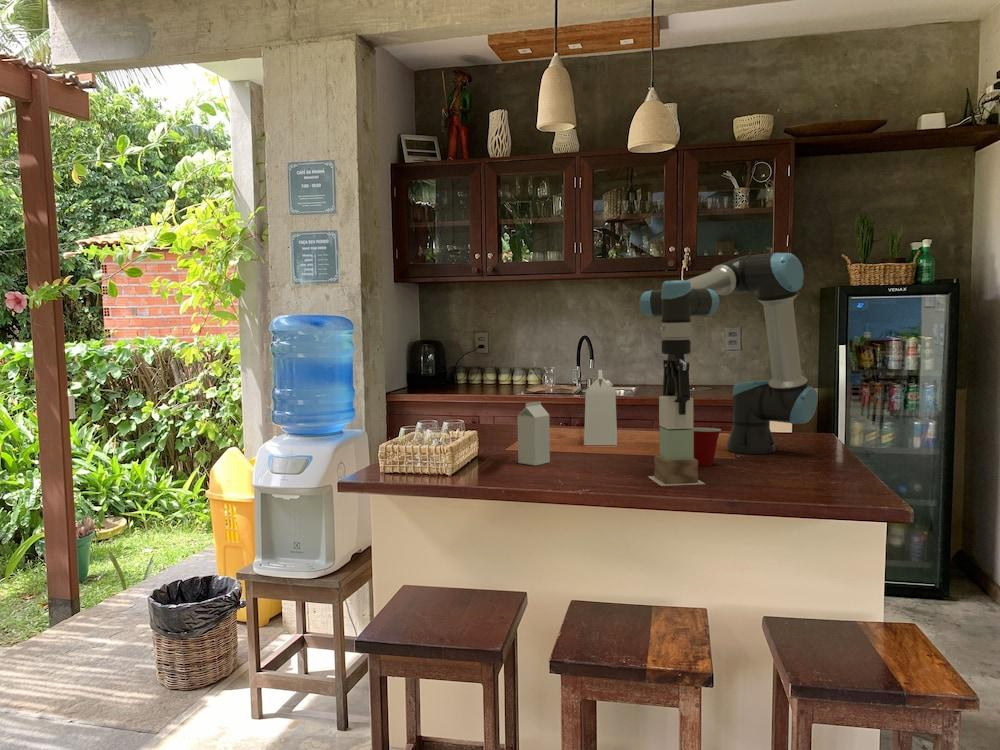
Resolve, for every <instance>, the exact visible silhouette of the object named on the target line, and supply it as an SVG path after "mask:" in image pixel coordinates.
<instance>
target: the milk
mask: <svg viewBox="0 0 1000 750" xmlns="http://www.w3.org/2000/svg"><path fill="white" fill-rule="evenodd" d="M613 386H614V384H613V383H612V382H611V381H610V380H609V379H607V380H606V379H605V378H604V377H603V369H598V377H597V379H595V381H594V382H593V383H592V384H591V385H589V386H588V387H587V389H586V390H585V398H584V399H585V401H584V402H585V405H584V406H585V407H584V435H583V437H584V438H583V446H584V445H617V446H618V433H617V432H618V431H617V430H618V428H617V424H618V423H617V397H616V396H617V395H616V389H615V388H614V387H613Z"/></svg>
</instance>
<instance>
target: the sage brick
mask: <svg viewBox="0 0 1000 750" xmlns="http://www.w3.org/2000/svg"><path fill="white" fill-rule="evenodd" d="M659 455H660V457H662V458H664V459H666V460H667V461H677V460H694V430H693V429H690V428H688V429H666V428H664V427H661V426H659Z"/></svg>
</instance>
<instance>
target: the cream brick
mask: <svg viewBox="0 0 1000 750" xmlns="http://www.w3.org/2000/svg"><path fill="white" fill-rule="evenodd" d="M675 400H677V396H665V395H661V396H658V405H659V406H658V409H659V411H658V421H659V423H658V425H659V426H658V427H664V428H666V429H688V428H694V398H693V397H691V396H690V400H687V402H686V427H675V402H674V401H675Z"/></svg>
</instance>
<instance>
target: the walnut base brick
mask: <svg viewBox="0 0 1000 750" xmlns="http://www.w3.org/2000/svg"><path fill="white" fill-rule="evenodd" d="M653 458H654V460H653V461H654V463H653V464H654V465H653V470H654V471H653V472H654V473H653V476H654V477H655V478H656V479H658V480H659V481H661V482H662V483H664V484H684V483H698V480H699V466H698V460H696V459H694V460H677V461H667V460H666V459H664V458H662V457H660V454H658V455H657V454H656V455H654V457H653Z"/></svg>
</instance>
